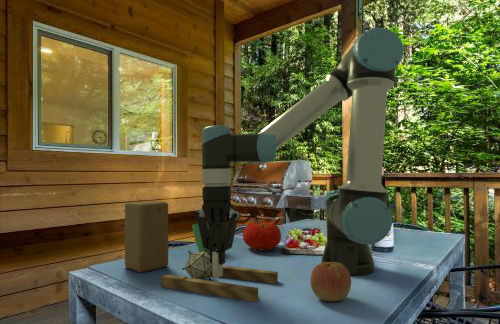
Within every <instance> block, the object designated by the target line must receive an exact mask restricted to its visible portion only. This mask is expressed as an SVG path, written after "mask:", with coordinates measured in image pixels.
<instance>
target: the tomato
mask: <svg viewBox="0 0 500 324" xmlns="http://www.w3.org/2000/svg"><path fill="white" fill-rule="evenodd" d="M242 240H243V241H244V243H245V244H246V245H247V246H248V247H249V248H252V249H253V250H255V251H256V252H257V251H266V252H267V251H271V250H273V249H274V248H275V247H277V246H278V245H280V242H281V240H282V231H281V230H280V227H279V226H277V224H276V223H274V222H272V221H270V222H266V221H261V222H259V223H256V222H255V223H254V222H251V223H249V224H247V226H246V227H245V228H244V230H243V231H242Z"/></svg>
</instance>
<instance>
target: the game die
mask: <svg viewBox="0 0 500 324" xmlns="http://www.w3.org/2000/svg"><path fill="white" fill-rule="evenodd" d="M206 251H207V249H205V251H203V252H199V251H196V252H191V250H188V254H189V256H188V258H187V261H186V263H185V266H184V267H182V268H181V270H182V271H184V270H185V271H186V273H187V274H188V276H189V278H194V279H201V280H206V279H207V280H208V281H212V278H211V276H212V275H211V272H212V264H211V263H210V254H208V253H207V252H206Z"/></svg>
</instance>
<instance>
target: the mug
mask: <svg viewBox="0 0 500 324" xmlns="http://www.w3.org/2000/svg"><path fill="white" fill-rule="evenodd" d="M207 225H208V223H207ZM208 230H209V226H208ZM192 231H193V236H194V240H195V244H196V247H197V250H198V252H203V251H205V249H206V248H203V245H202V240H201V235H200V230H199V226H198V223H194V224H192ZM206 252H207V253H208V255H210V251H209V250H208V249H207V251H206Z"/></svg>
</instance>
